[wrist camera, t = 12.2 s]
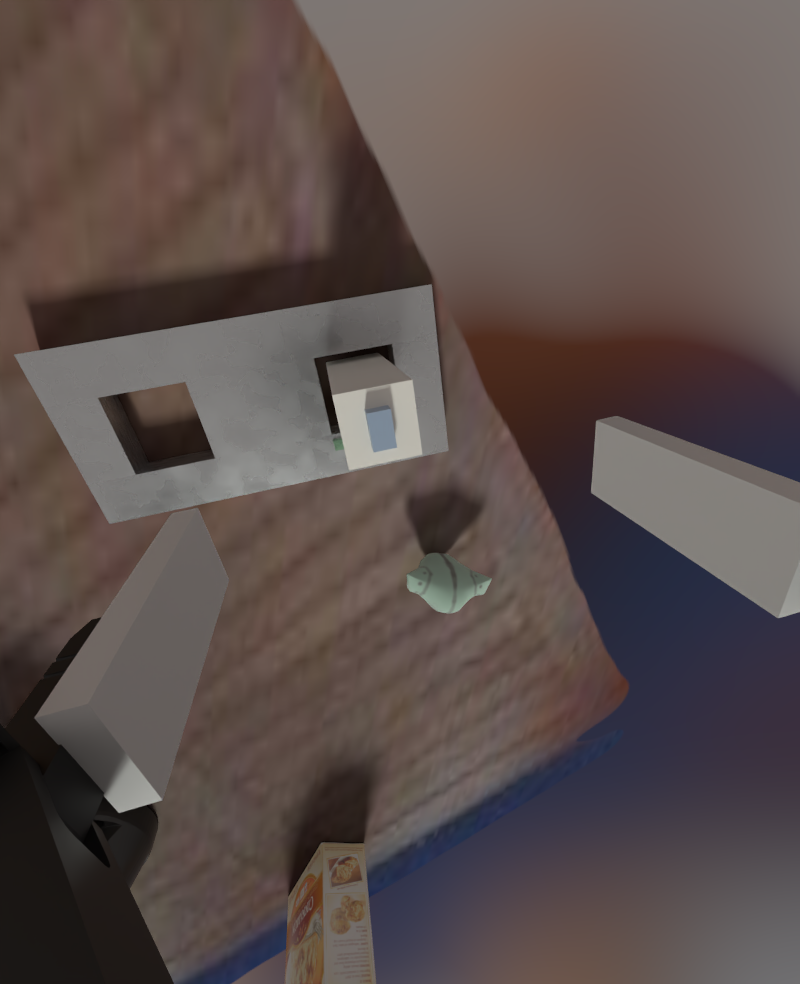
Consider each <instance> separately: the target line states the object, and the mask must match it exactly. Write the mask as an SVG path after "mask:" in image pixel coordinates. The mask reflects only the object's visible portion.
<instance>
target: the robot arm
mask: <svg viewBox="0 0 800 984" xmlns="http://www.w3.org/2000/svg"><path fill="white" fill-rule="evenodd" d="M591 493H593V494H594V495H596V496H597V497H599V498H600V499H602V500H603V501H605V502H606V503H608V504H609V505H611V506H612V507H613V508H615V509H617V510H618V511H619V512H621V513H622V514H624V515H625V516H627V517H628V518H630V519H631V520H633V521H634V522H636V523H637V524H639V525H640V526H642V527H643V528H645V529H646V530H648V531H649V532H651V533H652V534H654V535H655V536H657V537H658V538H659V539H661V540H663V541H664V542H666V543H667V544H668V545H670V546H672V547H673V548H674V549H676V550H678V551H679V552H680V553H682V554H683V555H685V556H686V557H688V558H689V559H691V560H692V561H694V562H695V563H697V564H698V565H700V566H701V567H703V568H704V569H706V570H707V571H709V572H710V573H712V574H713V575H714V576H716V577H717V578H719V579H720V580H722V581H723V582H725V583H726V584H728V585H730V586H731V587H732V588H734V589H735V590H737V591H738V592H740V593H741V594H743V595H744V596H746V597H747V598H749V599H750V600H752V601H753V602H755V603H756V604H758V605H759V606H761V607H762V608H764V609H765V610H767V611H768V612H769V613H771V614H773V615H774V616H775V617H777V618H781V617H784V616H787V615H791V614H794V613H798V612H800V483H799V482H797V481H794V480H791V479H788V478H785V477H783V476H780V475H777V474H774V473H771V472H769V471H766V470H764V469H761V468H758V467H755V466H753V465H750V464H747V463H744V462H742V461H739V460H736V459H733V458H731V457H728V456H725V455H722V454H720V453H717V452H714V451H711V450H709V449H706V448H703V447H701V446H698V445H695V444H692V443H690V442H687V441H684V440H681V439H679V438H676V437H673V436H670V435H667V434H665V433H662V432H659V431H657V430H654V429H651V428H649V427H646V426H643V425H640V424H638V423H635V422H632V421H629V420H627V419H624V418H621V417H618V416H615V417H611V418H606V419H601V420H597V421H596V434H595V447H594V460H593V474H592V487H591ZM228 581H229V578H228V576H227V574H226V571H225V569H224V567H223V565H222V562H221V560H220V558H219V555H218V553H217V551H216V549H215V546H214V544H213V542H212V539H211V537H210V535H209V532H208V530H207V528H206V526H205V523H204V521H203V519H202V516H201V514H200V512H199V509H198V508H195V509H190V510H186V511H181V512H176V513H172V514H171V515H170V517H169V518H168V520H167V521H166V523H165V524H164V525H163V527H162V528H161V530H160V531H159V533H158V534H157V536H156V537H155V539H154V540H153V542H152V543H151V545H150V546H149V548H148V549H147V551H146V552H145V554H144V555H143V557H142V558H141V560H140V561H139V563H138V564H137V566H136V567H135V569H134V570H133V572H132V573H131V575H130V576H129V578H128V579H127V581H126V582H125V584H124V585H123V587H122V588H121V589H120V591H119V592H118V594H117V595H116V597H115V598H114V600H113V601H112V603H111V604H110V606H109V607H108V609H107V610H106V612H105V613H104V615H103V616H102V617H101V618H97V619H93V620H91V621H90V622H89V623H88V624H86V625H85V626H84V627H83V628H82V629H81V630H80V631H79V632H77V633H76V634H75V635H74V636H73V637H72V638H71V639H70V640H69V641H68V643H67V644H66V645H65V647H64V648H63V649H62V651H61V652H60V654H59V655H58V656H57V658H56V662H54V663H52V665H51V666H50V667H49V669H48V670H47V672H46V673H45V674H44V679H42V680H40V681H39V683H38V684H37V685H36V687H35V688H34V690H33V691H32V692H31V694H30V695H29V697H28V698H27V699H26V701H25V702H24V703H23V705H22V706H21V708H20V709H19V710H18V712H17V713H16V714H15V716H14V717H13V719H12V720H11V721H10V723H9V724H8V726H7V727H6V728H5V729H4V728H3V727H2V726H1V725H0V984H174V983H173V981H172V978H171V976H170V974H169V972H168V970H167V968H166V966H165V964H164V961H163V959H162V957H161V955H160V953H159V951H158V949H157V946H156V944H155V942H154V940H153V938H152V936H151V934H150V932H149V929H148V927H147V925H146V923H145V921H144V919H143V917H142V914H141V912H140V910H139V908H138V906H137V904H136V902H135V900H134V897H133V895H132V893H131V891H130V888H131V886H132V884H133V882H134V880H135V879H136V877H137V875H138V873H139V871H140V869H141V867H142V866H143V864H144V863H145V862H146V860H147V859H148V857H149V855H150V852H151V850H152V847H153V843H154V840H155V836H156V833H157V829H158V821H157V818H156V816H155V814H154V813H153V812H152V811H151V809H149V808H148V807H147V806H146V805H148V804H151V803H155V802H158V801H162V800H163V797H164V794H165V790H166V787H167V784H168V780H169V777H170V774H171V770H172V767H173V764H174V761H175V757H176V754H177V751H178V747H179V744H180V741H181V737H182V734H183V731H184V727H185V724H186V721H187V717H188V714H189V711H190V707H191V704H192V701H193V697H194V694H195V691H196V687H197V684H198V681H199V678H200V674H201V671H202V668H203V664H204V661H205V658H206V654H207V651H208V648H209V644H210V641H211V638H212V634H213V631H214V628H215V624H216V621H217V618H218V614H219V611H220V608H221V605H222V601H223V598H224V595H225V591H226V588H227V585H228Z"/></svg>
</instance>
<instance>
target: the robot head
mask: <svg viewBox="0 0 800 984" xmlns="http://www.w3.org/2000/svg"><path fill="white" fill-rule="evenodd" d="M491 580H492V579H491V578H489V577H486V576H484V575H482V574H479V573H477V572H475V571H472V570H470V569H469V568H467V567H465V566H464V565H462V564H460V563H459V562H458V561H457V560H455V559H454V558H452V557H451V556H449V555H448V554H442V553H430V554H427V555H426V556H425V557H424V558H423V559H422V560H421V562H420V565H419V567H418V568H417V569H416V570H414V571H412V572H410V573H408V574H407V587H408V589H409V591H411V592H414V593H417V594H419V595H420V596H421V597H422V598H424V599H425V601H426V602H427V603H428V604H429V605H430V606H431V607H432V608H433V609H435V610H436V611H438V612H443V613H454V612H457V611H459V610H460V609H461V608H462V607H463V605H464V604H465V603H466V602H467V601H468V600H469V599H471V598H472V597H473V596H477V595H482V594H484V593H485V591H486V589H487V587H488V586H489V584H490V582H491Z"/></svg>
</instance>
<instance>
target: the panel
mask: <svg viewBox="0 0 800 984" xmlns="http://www.w3.org/2000/svg"><path fill="white" fill-rule="evenodd" d="M383 345H387V349H388V355H389V362H391V363H392V364H393V365H394V366H396V367H397V368H398V369H399V370H401V371H402V372H403V373H405V374H406V375H407V376H408V377H410V378H411V379H412V380H413V388H414V395H415V403H416V410H417V418H418V425H419V433H420V440H421V448H422V455H419V456H414V457H410V458H405V459H400V460H396V461H391V462H386V463H382V464H377V465H373V466H368V467H363V468H359V469H354V470H349V468H348V463H347V459H346V455H345V450H344V446H343V441H342V437H341V433H340V428H339V424H335V425H330V421H329V417H328V413H327V409H326V404H325V400H324V396H323V392H322V388H321V383H320V379H319V375H318V371H317V366H316V362H315V358H318V357H323V356H329V355H334V354H340V353H345V352H351V351H356V350H361V349H367V348H372V347H378V346H383ZM14 356H15V357H16V359H17V361H18V363H19V364H20V366H21V368H22V370H23V371H24V373H25V375H26V377H27V379H28V380H29V382H30V384H31V386H32V387H33V389H34V391H35V393H36V394H37V396H38V398H39V400H40V402H41V403H42V405H43V407H44V409H45V410H46V412H47V414H48V416H49V418H50V419H51V421H52V423H53V425H54V426H55V428H56V430H57V432H58V433H59V435H60V437H61V439H62V441H63V442H64V444H65V446H66V448H67V449H68V451H69V453H70V455H71V456H72V458H73V460H74V462H75V464H76V465H77V467H78V469H79V471H80V472H81V474H82V476H83V478H84V479H85V481H86V483H87V485H88V487H89V488H90V490H91V492H92V494H93V495H94V497H95V499H96V501H97V502H98V504H99V506H100V508H101V510H102V511H103V513H104V515H105V517H106V518H107V520H108V522H109V524H112V523H116V522H121V521H125V520H130V519H135V518H139V517H144V516H149V515H153V514H158V513H162V512H167V511H172V510H176V509H181V508H186V507H190V506H195V505H199V504H204V503H209V502H213V501H218V500H223V499H227V498H232V497H237V496H241V495H246V494H250V493H255V492H260V491H264V490H269V489H274V488H278V487H283V486H287V485H292V484H297V483H301V482H306V481H311V480H315V479H320V478H324V477H329V476H334V475H338V474H343V473H348V472H352V471H357V470H362V469H366V468H371V467H375V466H380V465H385V464H389V463H394V462H399V461H403V460H408V459H412V458H417V457H422V456H426V455H431V454H436V453H440V452H445V451H448V442H447V432H446V422H445V412H444V402H443V392H442V382H441V372H440V362H439V352H438V342H437V332H436V322H435V313H434V303H433V293H432V284H430V285H424V286H418V287H412V288H406V289H400V290H394V291H388V292H382V293H376V294H370V295H364V296H358V297H352V298H346V299H341V300H335V301H329V302H323V303H317V304H311V305H305V306H299V307H293V308H287V309H281V310H275V311H269V312H264V313H258V314H252V315H246V316H240V317H234V318H228V319H222V320H216V321H210V322H204V323H198V324H192V325H186V326H181V327H175V328H169V329H163V330H157V331H151V332H145V333H139V334H133V335H127V336H121V337H115V338H109V339H104V340H98V341H92V342H86V343H80V344H74V345H68V346H62V347H56V348H50V349H44V350H38V351H33V352H27V353H21V354H16V355H14ZM181 382H186V385H187V387H188V390H189V392H190V395H191V397H192V400H193V403H194V405H195V408H196V410H197V413H198V415H199V418H200V421H201V423H202V426H203V428H204V431H205V433H206V436H207V439H208V441H209V444H210V446H211V450H206V451H201V452H196V453H191V454H186V455H181V456H177V457H172V458H167V459H162V460H157V461H152V462H149V461H148V459H147V457H146V455H145V453H144V451H143V449H142V447H141V444H140V442H139V440H138V438H137V436H136V434H135V432H134V430H133V428H132V425H131V423H130V421H129V419H128V417H127V415H126V413H125V411H124V408H123V406H122V404H121V402H120V400H119V398H118V396H117V394H121V393H127V392H132V391H138V390H143V389H149V388H154V387H160V386H165V385H171V384H176V383H181Z"/></svg>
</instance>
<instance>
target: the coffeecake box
mask: <svg viewBox="0 0 800 984" xmlns="http://www.w3.org/2000/svg"><path fill="white" fill-rule="evenodd" d="M285 984H376V977H375V965H374V954H373V944H372V932H371V921H370V908H369V897H368V886H367V875H366V864H365V851H364V843H335V842H322V843H321V844H320V845H319V847H318V849H317V850H316V852H315V854H314V855H313V857H312V858H311V860H310V862H309V864H308V865H307V867H306V868H305V870H304V872H303V873H302V875H301V877H300V878H299V880H298V882H297V883H296V885H295V887H294V888H293V890H292V892H291V893H290V895H289V897H288V922H287V946H286V970H285Z"/></svg>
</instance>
